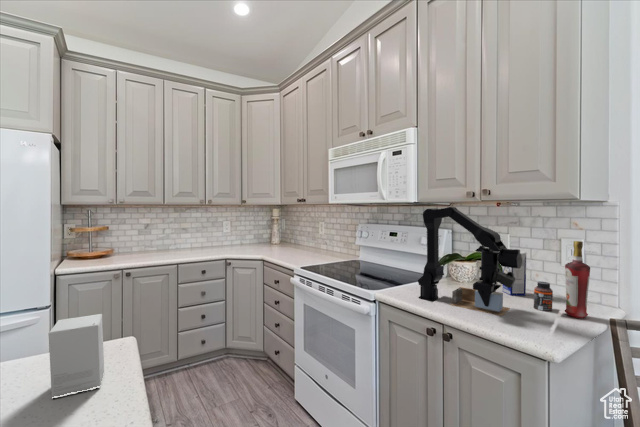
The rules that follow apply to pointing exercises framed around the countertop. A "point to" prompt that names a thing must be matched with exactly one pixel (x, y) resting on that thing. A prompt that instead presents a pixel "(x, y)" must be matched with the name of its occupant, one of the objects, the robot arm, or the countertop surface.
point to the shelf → (471, 301)
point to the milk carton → (517, 278)
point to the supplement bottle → (543, 297)
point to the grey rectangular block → (494, 302)
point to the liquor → (577, 284)
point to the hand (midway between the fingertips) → (488, 304)
